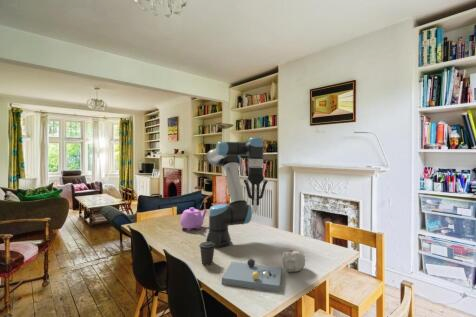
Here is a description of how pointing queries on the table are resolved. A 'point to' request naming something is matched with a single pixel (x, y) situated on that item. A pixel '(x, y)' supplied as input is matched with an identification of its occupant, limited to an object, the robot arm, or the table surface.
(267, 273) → the steel ball
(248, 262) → the black ball
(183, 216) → the teapot
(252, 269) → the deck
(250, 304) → the table surface
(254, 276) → the mustard ball
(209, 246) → the coffee cup
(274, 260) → the table surface
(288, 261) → the candle
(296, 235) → the table surface
